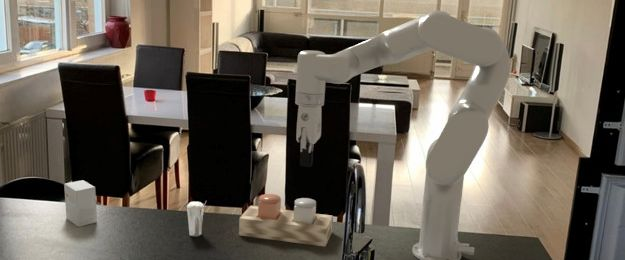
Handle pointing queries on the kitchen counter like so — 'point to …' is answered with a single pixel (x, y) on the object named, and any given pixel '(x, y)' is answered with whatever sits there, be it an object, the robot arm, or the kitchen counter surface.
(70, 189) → the small box
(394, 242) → the kitchen counter surface
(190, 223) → the milkshake
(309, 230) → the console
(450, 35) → the robot arm
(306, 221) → the grey button
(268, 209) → the terracotta button
